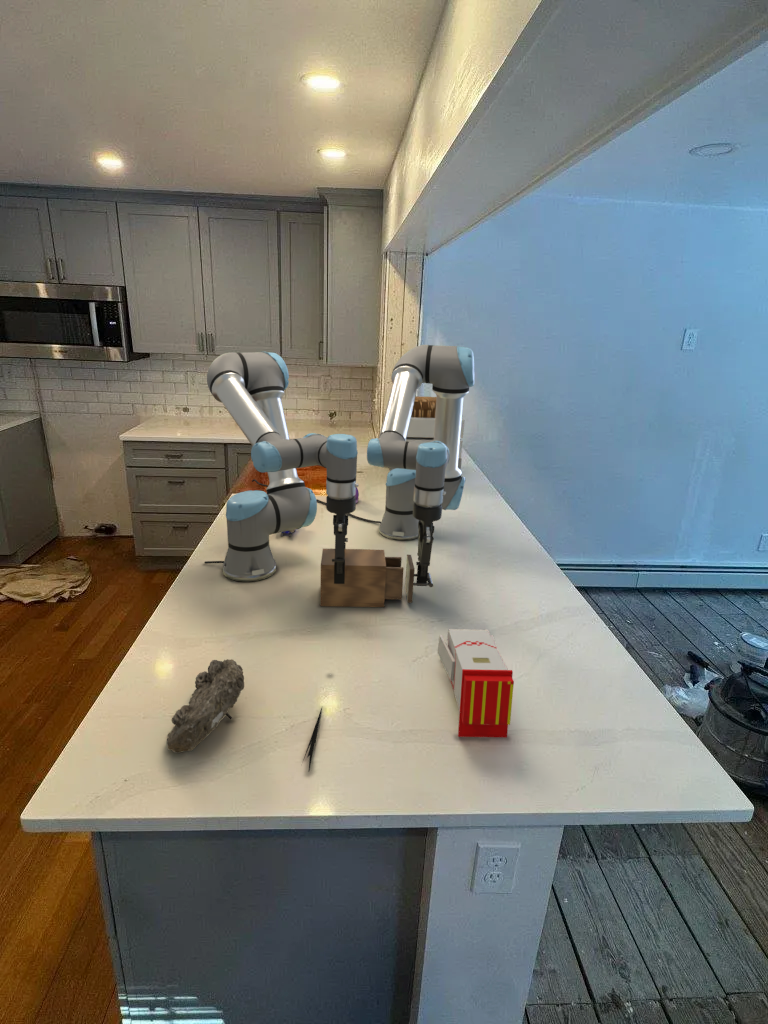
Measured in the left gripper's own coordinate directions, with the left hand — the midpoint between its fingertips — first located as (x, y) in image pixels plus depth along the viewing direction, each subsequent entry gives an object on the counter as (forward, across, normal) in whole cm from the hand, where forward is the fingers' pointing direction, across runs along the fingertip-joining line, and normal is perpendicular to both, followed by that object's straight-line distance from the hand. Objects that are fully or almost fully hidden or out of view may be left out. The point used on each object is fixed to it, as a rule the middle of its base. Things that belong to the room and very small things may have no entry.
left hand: (339, 573), depth 152 cm
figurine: (+7, +79, -2) cm, 80 cm away
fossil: (+7, -48, +23) cm, 54 cm away
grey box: (+7, +126, -36) cm, 131 cm away
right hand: (+3, 0, -22) cm, 22 cm away
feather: (+7, -49, +3) cm, 49 cm away
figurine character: (+7, +47, +19) cm, 51 cm away
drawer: (+6, 0, -15) cm, 16 cm away
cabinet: (+7, 0, -4) cm, 8 cm away
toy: (+7, -40, -28) cm, 50 cm away
